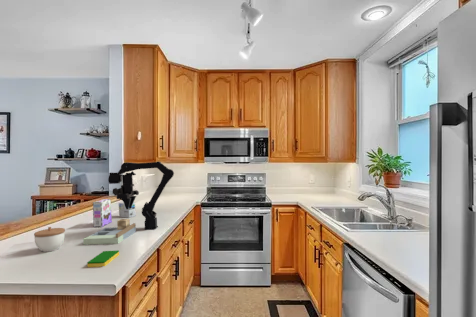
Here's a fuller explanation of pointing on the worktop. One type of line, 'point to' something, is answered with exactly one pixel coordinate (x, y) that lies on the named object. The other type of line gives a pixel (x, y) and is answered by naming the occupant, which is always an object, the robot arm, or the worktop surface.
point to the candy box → (102, 212)
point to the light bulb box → (126, 210)
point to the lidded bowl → (49, 239)
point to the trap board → (110, 235)
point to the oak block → (123, 223)
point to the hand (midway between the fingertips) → (128, 208)
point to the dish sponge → (103, 258)
